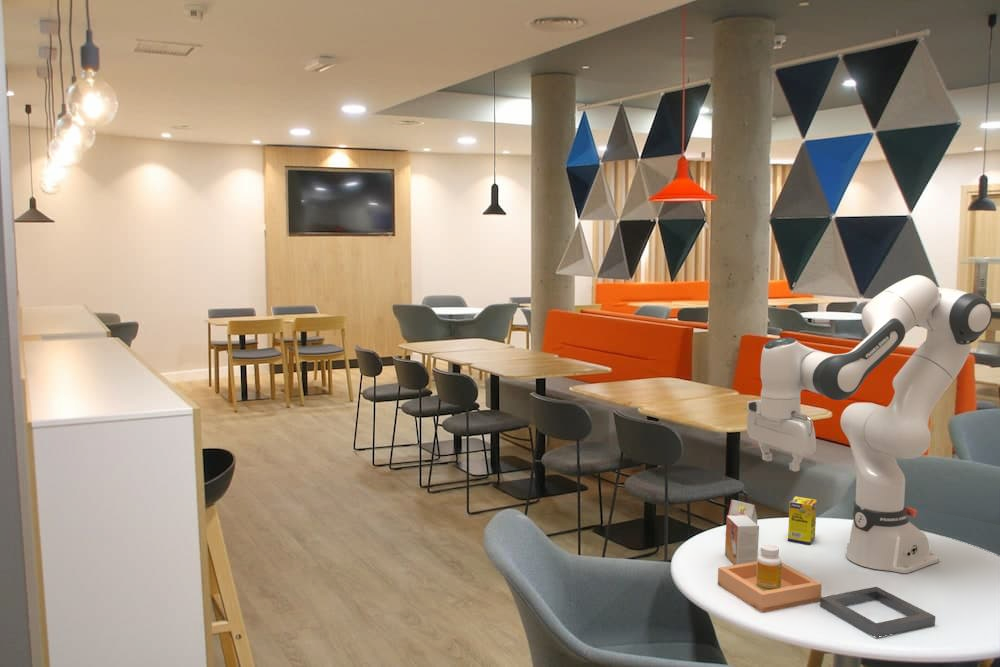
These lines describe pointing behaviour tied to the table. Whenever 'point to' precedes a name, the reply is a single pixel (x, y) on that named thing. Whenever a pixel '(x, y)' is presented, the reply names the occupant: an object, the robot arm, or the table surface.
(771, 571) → the supplement bottle
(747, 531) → the small box
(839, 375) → the robot arm
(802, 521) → the supplement box
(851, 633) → the table surface
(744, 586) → the tray
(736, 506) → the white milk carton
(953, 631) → the table surface
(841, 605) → the dark grey square frame
